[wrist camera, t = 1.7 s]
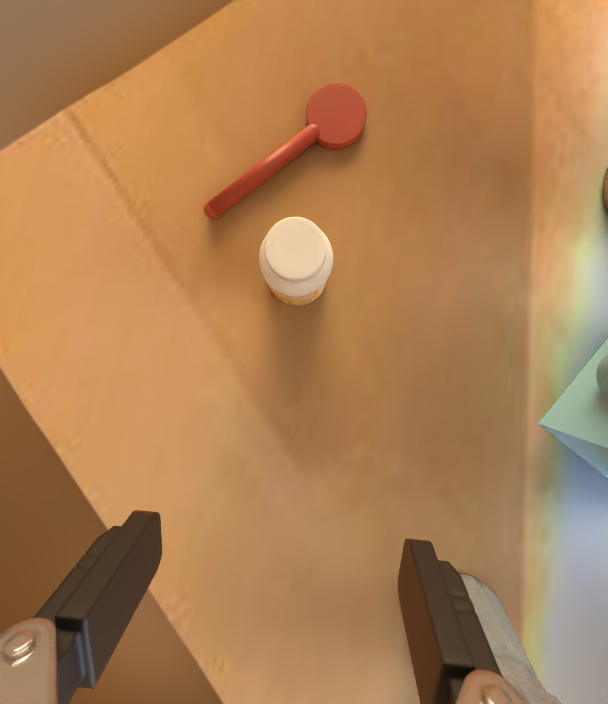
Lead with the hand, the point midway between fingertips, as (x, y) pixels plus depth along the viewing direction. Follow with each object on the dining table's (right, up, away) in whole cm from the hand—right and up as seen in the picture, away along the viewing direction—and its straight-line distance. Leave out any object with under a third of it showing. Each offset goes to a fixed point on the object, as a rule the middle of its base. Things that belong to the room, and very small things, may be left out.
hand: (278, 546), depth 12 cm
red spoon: (-1, +23, +20) cm, 31 cm away
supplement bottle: (0, +13, +21) cm, 25 cm away
